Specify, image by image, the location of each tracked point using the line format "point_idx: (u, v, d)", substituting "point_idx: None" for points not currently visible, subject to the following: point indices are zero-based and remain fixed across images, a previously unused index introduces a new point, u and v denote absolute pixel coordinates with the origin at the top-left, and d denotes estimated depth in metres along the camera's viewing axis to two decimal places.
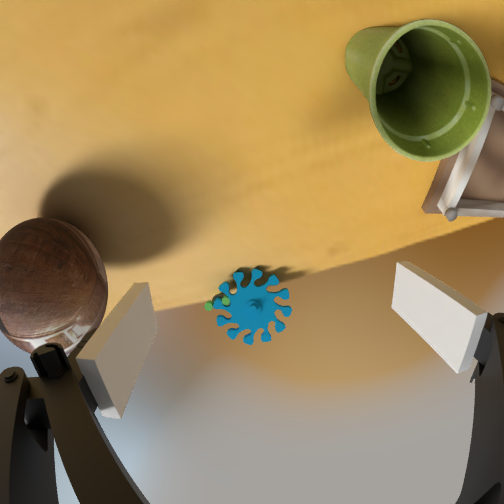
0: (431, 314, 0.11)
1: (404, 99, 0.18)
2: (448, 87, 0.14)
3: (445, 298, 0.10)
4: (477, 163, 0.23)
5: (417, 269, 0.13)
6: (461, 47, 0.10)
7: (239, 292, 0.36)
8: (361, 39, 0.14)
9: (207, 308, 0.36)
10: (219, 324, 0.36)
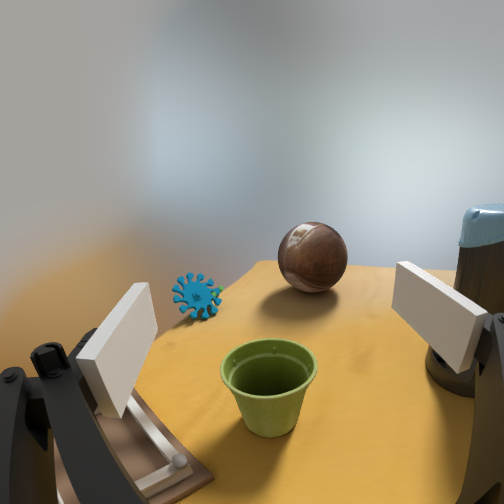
0: (431, 314, 0.11)
1: None
2: None
3: (445, 298, 0.10)
4: (123, 436, 0.24)
5: (417, 269, 0.13)
6: None
7: (209, 301, 0.55)
8: None
9: (221, 286, 0.59)
10: (210, 279, 0.58)
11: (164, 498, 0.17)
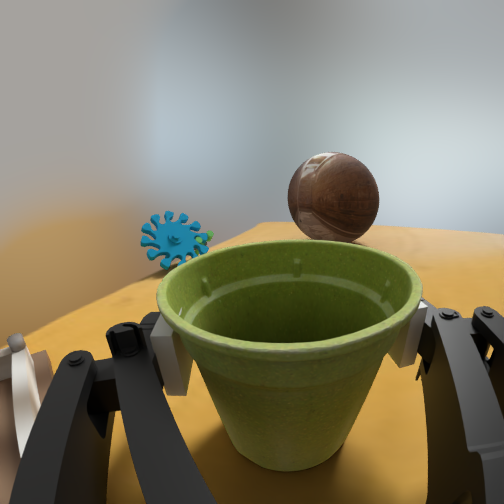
0: None
1: None
2: None
3: None
4: None
5: None
6: None
7: (190, 248, 0.39)
8: None
9: (210, 232, 0.43)
10: (196, 222, 0.43)
11: None
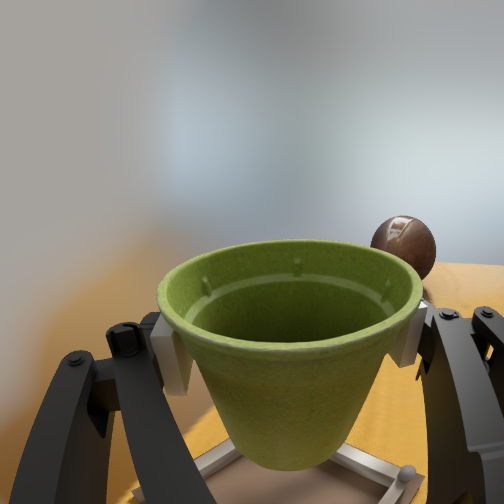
0: None
1: None
2: None
3: None
4: (301, 470, 0.19)
5: None
6: None
7: None
8: None
9: None
10: None
11: None
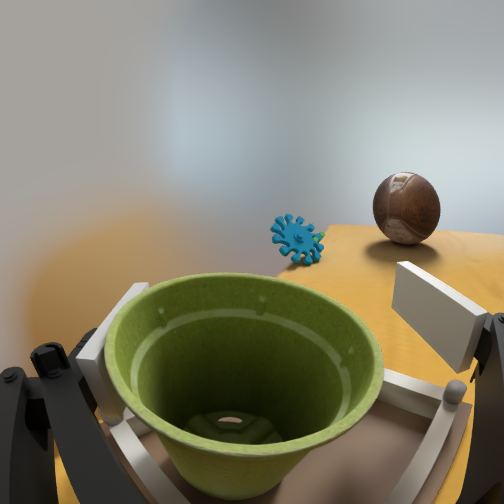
0: (431, 314, 0.11)
1: (169, 419, 0.12)
2: (165, 442, 0.08)
3: (445, 298, 0.10)
4: None
5: (417, 269, 0.13)
6: None
7: (311, 245, 0.48)
8: None
9: (322, 233, 0.51)
10: (311, 224, 0.51)
11: (446, 461, 0.09)
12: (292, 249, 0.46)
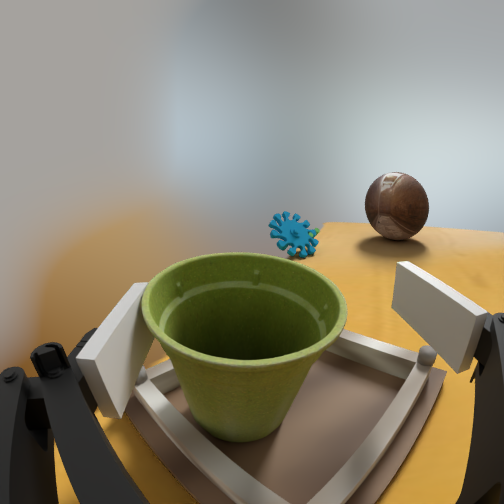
0: (431, 314, 0.11)
1: None
2: None
3: (445, 298, 0.10)
4: None
5: (417, 269, 0.13)
6: None
7: (307, 240, 0.52)
8: None
9: (317, 229, 0.55)
10: (306, 221, 0.55)
11: (422, 415, 0.14)
12: (288, 243, 0.50)
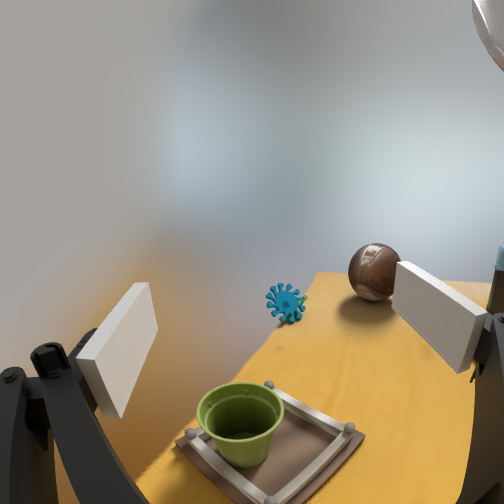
0: (431, 314, 0.11)
1: None
2: None
3: (445, 298, 0.10)
4: (284, 424, 0.34)
5: (417, 269, 0.13)
6: None
7: (295, 308, 0.66)
8: None
9: (305, 296, 0.69)
10: (297, 289, 0.69)
11: (341, 459, 0.27)
12: (280, 312, 0.64)
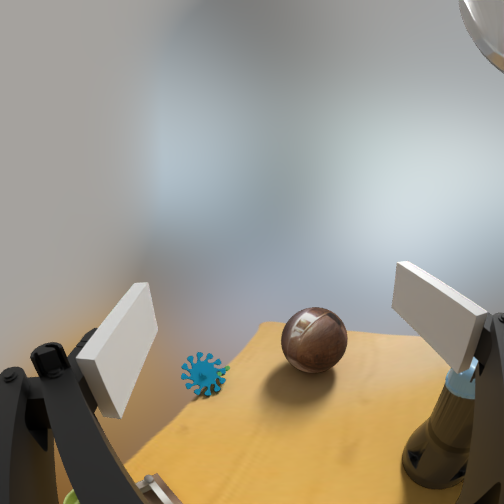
0: (431, 314, 0.11)
1: None
2: None
3: (445, 298, 0.10)
4: None
5: (417, 269, 0.13)
6: None
7: (213, 380, 0.57)
8: None
9: (227, 366, 0.60)
10: (218, 359, 0.60)
11: None
12: (195, 384, 0.56)
